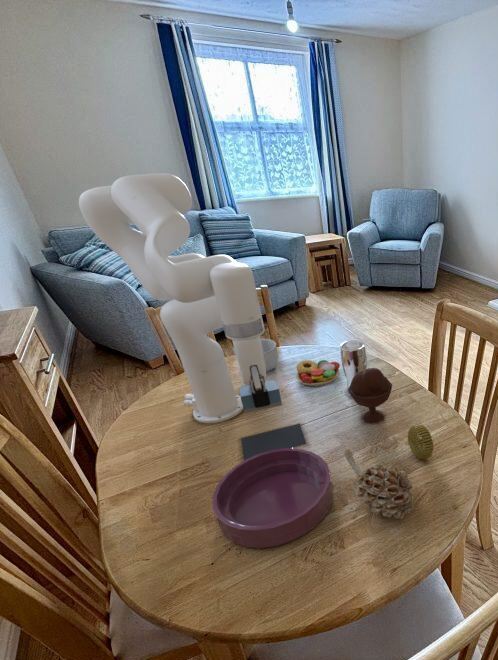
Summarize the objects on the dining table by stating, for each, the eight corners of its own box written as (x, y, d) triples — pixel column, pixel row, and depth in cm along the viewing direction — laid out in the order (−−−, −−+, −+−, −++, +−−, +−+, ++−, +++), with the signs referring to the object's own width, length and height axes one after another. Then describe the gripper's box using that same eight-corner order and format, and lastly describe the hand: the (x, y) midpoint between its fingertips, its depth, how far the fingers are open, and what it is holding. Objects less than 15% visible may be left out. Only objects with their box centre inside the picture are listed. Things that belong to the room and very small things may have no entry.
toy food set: (297, 368, 131) (295, 359, 129) (339, 364, 134) (338, 355, 132) (296, 390, 120) (294, 380, 118) (342, 384, 122) (340, 375, 121)
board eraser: (244, 413, 91) (240, 397, 89) (243, 403, 94) (238, 387, 92) (282, 405, 94) (278, 389, 92) (279, 395, 97) (276, 379, 95)
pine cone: (429, 513, 81) (429, 475, 75) (392, 543, 75) (389, 504, 70) (360, 460, 94) (356, 425, 89) (324, 482, 88) (317, 446, 83)
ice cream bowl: (396, 406, 112) (394, 358, 105) (389, 431, 103) (385, 380, 95) (358, 404, 113) (353, 356, 106) (347, 428, 104) (341, 377, 96)
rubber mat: (244, 461, 93) (243, 460, 93) (241, 439, 100) (241, 438, 100) (306, 444, 98) (306, 443, 98) (299, 424, 105) (299, 423, 105)
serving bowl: (197, 546, 74) (187, 525, 71) (251, 464, 92) (245, 445, 90) (313, 554, 73) (309, 533, 70) (345, 469, 91) (342, 450, 88)
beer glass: (346, 386, 122) (340, 340, 114) (370, 385, 122) (366, 339, 114) (344, 399, 116) (338, 351, 108) (369, 398, 116) (364, 350, 108)
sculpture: (405, 448, 97) (404, 420, 93) (420, 442, 99) (419, 415, 95) (420, 468, 91) (420, 440, 87) (436, 462, 93) (436, 434, 89)
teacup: (287, 363, 134) (282, 341, 130) (265, 379, 125) (260, 356, 121) (252, 357, 138) (247, 335, 134) (229, 372, 129) (222, 349, 125)
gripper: (222, 314, 89) (241, 385, 98) (226, 346, 76) (247, 424, 86) (258, 309, 92) (273, 379, 101) (268, 339, 79) (284, 416, 88)
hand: (261, 399), depth 93 cm, fingers closed on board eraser, 4 cm apart
